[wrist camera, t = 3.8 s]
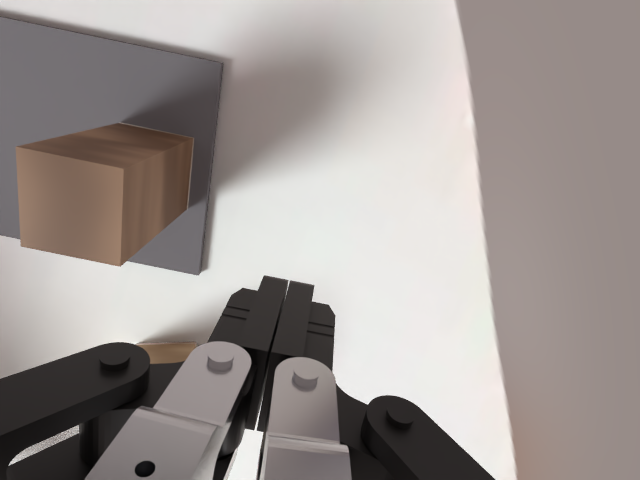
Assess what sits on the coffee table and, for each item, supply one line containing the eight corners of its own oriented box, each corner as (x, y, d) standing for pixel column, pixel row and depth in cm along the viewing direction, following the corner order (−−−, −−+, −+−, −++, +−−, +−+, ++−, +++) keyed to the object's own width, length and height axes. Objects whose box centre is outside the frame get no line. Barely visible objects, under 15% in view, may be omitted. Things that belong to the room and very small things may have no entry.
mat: (223, 63, 23) (221, 63, 22) (200, 272, 27) (198, 275, 27) (-128, -11, 23) (-136, -12, 22) (-95, 212, 27) (-101, 214, 27)
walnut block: (194, 137, 24) (123, 168, 16) (187, 208, 25) (120, 266, 18) (120, 122, 24) (15, 146, 16) (118, 194, 25) (20, 246, 18)
